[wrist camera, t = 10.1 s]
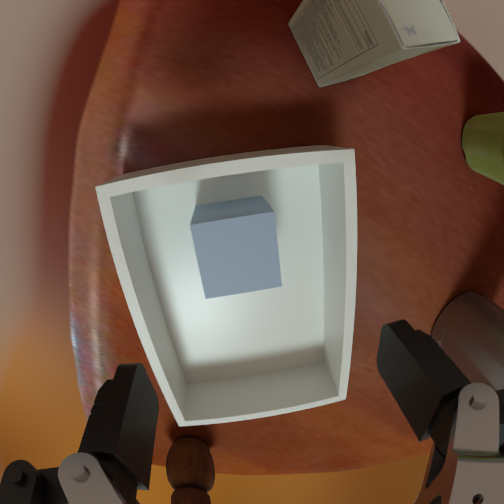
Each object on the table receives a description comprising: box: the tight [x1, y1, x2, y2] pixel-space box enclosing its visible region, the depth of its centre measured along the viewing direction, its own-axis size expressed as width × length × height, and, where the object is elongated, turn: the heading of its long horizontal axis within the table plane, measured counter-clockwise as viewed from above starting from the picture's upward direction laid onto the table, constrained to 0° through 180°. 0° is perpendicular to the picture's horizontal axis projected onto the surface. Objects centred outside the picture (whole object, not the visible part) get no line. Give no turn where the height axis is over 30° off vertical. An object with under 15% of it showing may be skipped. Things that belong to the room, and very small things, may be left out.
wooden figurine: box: [166, 437, 215, 504], centre depth 27 cm, size 7×6×15 cm
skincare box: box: [288, 0, 460, 87], centre depth 14 cm, size 6×4×12 cm
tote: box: [96, 145, 357, 426], centre depth 23 cm, size 16×22×6 cm
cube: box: [190, 196, 282, 299], centre depth 21 cm, size 5×5×5 cm
